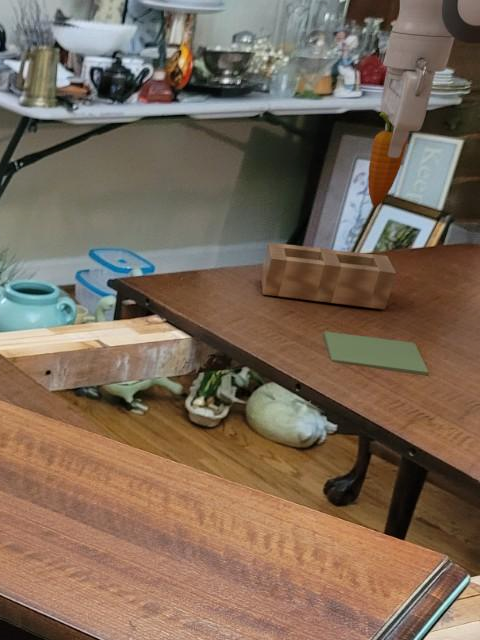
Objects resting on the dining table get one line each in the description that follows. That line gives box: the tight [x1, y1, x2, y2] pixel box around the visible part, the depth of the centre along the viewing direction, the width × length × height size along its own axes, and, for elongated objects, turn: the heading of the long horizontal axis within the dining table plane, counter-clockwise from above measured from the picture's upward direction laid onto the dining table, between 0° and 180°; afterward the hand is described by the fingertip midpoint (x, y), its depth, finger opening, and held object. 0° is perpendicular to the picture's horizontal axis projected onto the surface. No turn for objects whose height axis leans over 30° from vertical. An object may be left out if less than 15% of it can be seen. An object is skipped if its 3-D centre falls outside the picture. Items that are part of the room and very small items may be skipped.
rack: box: [260, 242, 397, 310], centre depth 185 cm, size 20×11×6 cm, turn 75°
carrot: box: [367, 112, 409, 208], centre depth 172 cm, size 5×5×15 cm
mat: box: [322, 330, 430, 376], centre depth 160 cm, size 13×13×1 cm
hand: (390, 153), depth 172 cm, fingers closed on carrot, 5 cm apart
